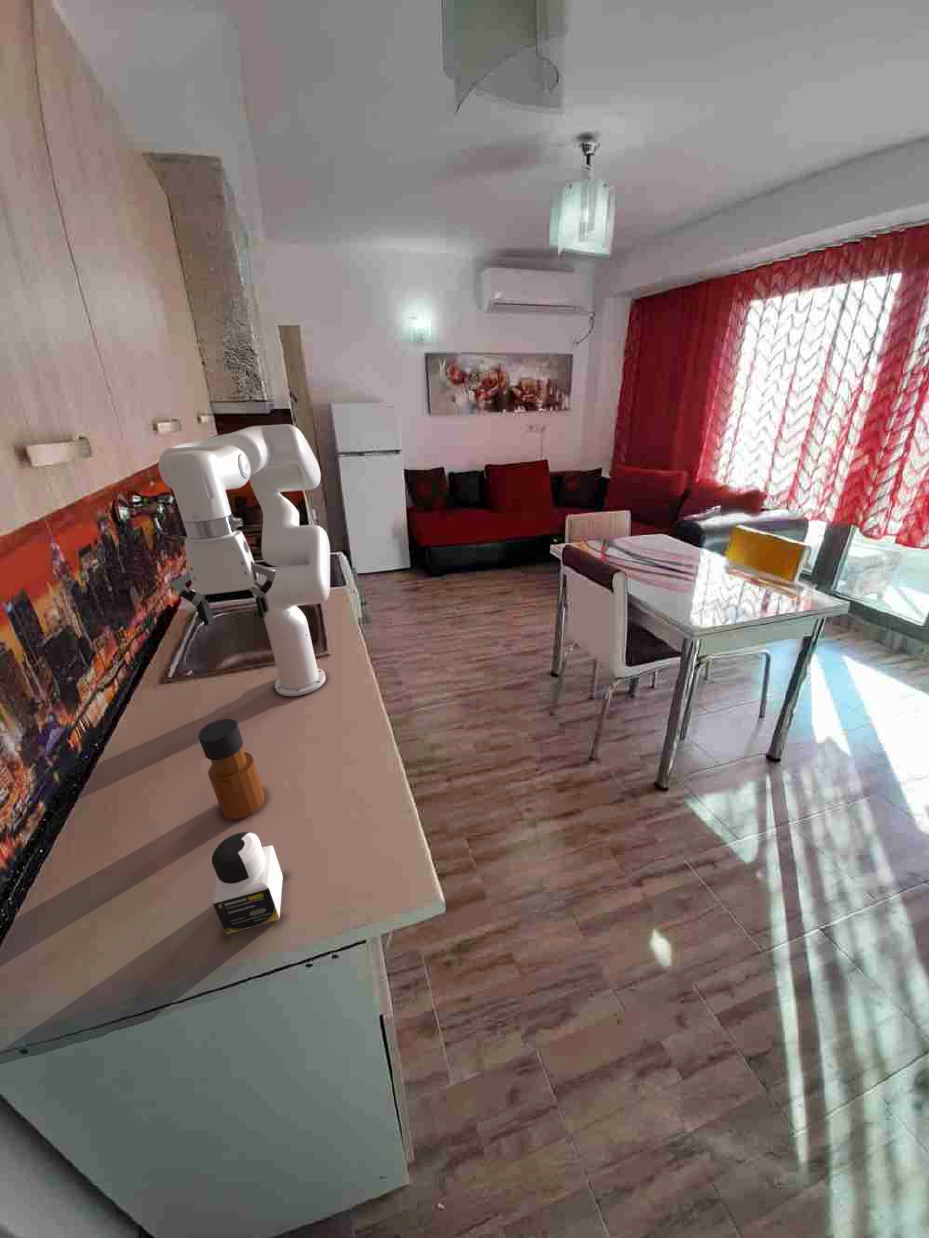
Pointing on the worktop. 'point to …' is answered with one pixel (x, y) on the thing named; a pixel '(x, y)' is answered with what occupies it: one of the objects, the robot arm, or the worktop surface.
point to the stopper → (220, 739)
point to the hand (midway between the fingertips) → (236, 618)
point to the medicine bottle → (246, 883)
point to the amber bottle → (236, 785)
